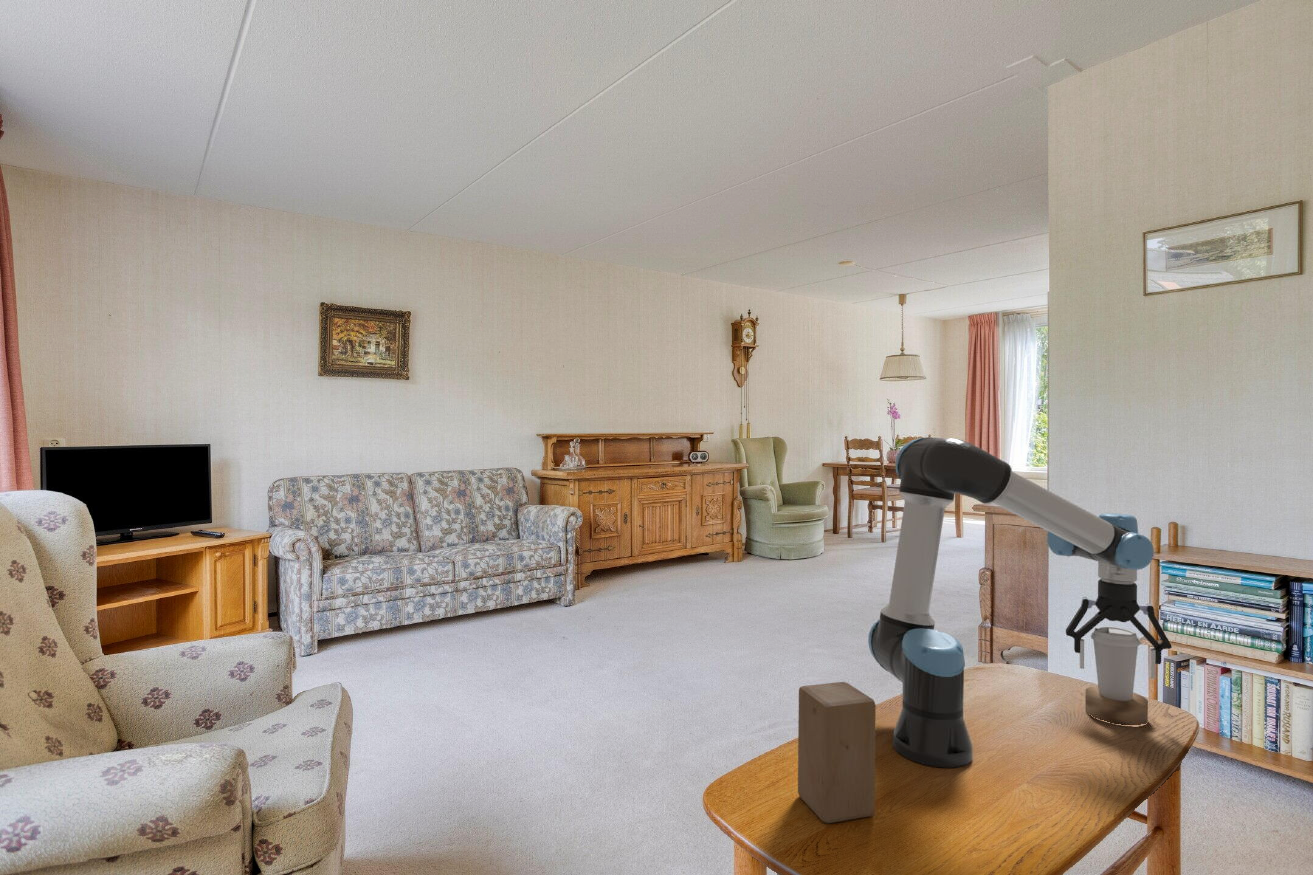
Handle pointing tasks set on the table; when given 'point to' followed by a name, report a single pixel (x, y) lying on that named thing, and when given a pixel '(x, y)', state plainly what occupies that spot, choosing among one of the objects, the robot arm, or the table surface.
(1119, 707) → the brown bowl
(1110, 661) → the coffee cup
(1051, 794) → the table surface
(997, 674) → the table surface
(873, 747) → the wooden block
